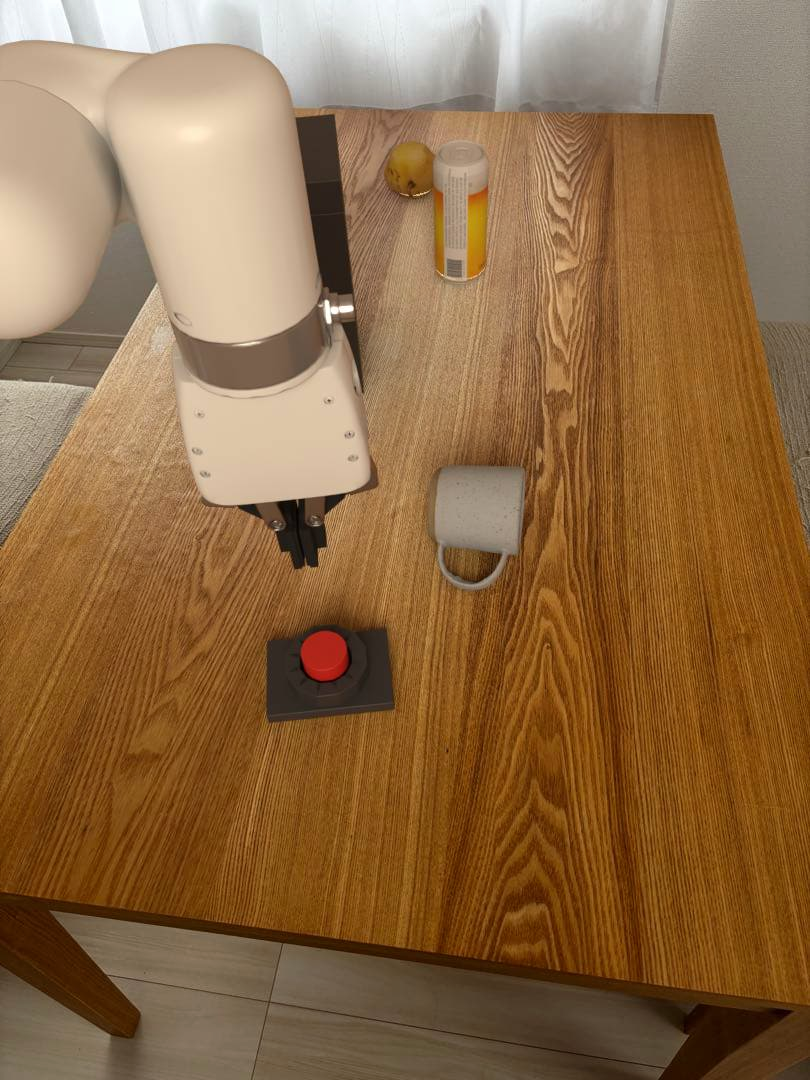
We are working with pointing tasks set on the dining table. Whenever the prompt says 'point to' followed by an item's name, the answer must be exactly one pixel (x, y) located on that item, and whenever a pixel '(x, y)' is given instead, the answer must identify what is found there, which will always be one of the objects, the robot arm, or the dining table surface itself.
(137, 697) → the dining table surface
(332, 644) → the button
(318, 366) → the robot arm
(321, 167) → the coffee maker
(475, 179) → the beer can
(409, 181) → the fruit
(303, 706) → the pad
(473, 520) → the ceramic mug
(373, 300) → the dining table surface
